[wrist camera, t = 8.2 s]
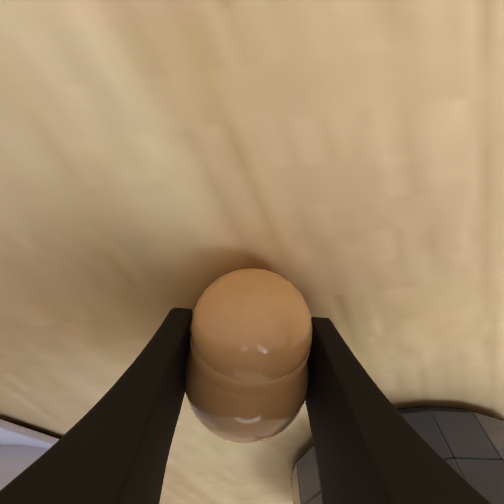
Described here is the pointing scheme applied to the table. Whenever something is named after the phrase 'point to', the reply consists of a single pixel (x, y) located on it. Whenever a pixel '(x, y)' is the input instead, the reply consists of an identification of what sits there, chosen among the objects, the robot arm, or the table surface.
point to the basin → (443, 443)
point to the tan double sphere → (248, 355)
